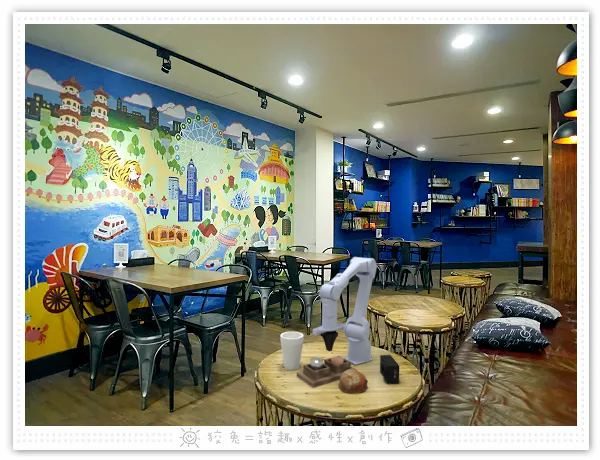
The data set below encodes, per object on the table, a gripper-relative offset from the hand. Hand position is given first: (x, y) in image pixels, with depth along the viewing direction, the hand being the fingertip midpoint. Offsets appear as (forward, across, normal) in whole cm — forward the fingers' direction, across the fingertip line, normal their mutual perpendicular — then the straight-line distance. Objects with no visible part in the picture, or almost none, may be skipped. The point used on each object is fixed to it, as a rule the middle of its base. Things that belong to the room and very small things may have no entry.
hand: (329, 350), depth 137 cm
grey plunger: (+6, +6, 0) cm, 8 cm away
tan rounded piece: (+7, -4, 0) cm, 8 cm away
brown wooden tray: (+10, +1, 0) cm, 10 cm away
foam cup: (+10, +8, -14) cm, 19 cm away
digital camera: (+10, -18, +14) cm, 24 cm away
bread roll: (+10, -1, +13) cm, 16 cm away
